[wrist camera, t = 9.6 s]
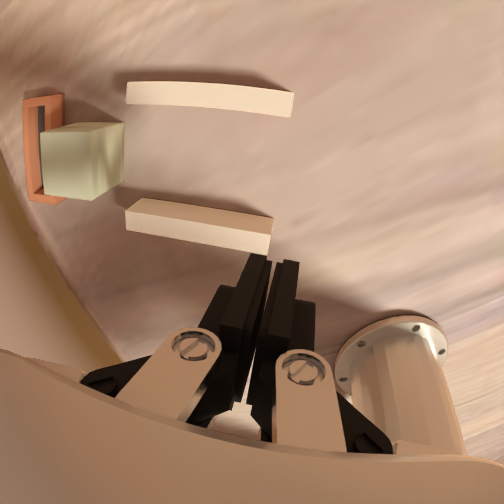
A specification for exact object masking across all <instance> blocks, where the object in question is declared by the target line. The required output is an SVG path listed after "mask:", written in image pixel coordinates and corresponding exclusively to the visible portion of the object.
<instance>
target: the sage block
mask: <svg viewBox="0 0 504 504" xmlns="http://www.w3.org/2000/svg"><path fill="white" fill-rule="evenodd" d="M124 124H125V122H77V123H73V124H69V125H66V126H62V127H58V128H55V129H51V130H48V131H44V132H41V133H40V144H41V162H42V175H43V185H44V194H45V195H52V196H59V197H67V198H74V199H81V200H89V201H92V200H94V199H95V198H97V197H98V196H100V195H102V194H103V193H105V192H106V191H108V190H110V189H111V188H113V187H114V186H116V185H118V184H119V183H121V182H123V181H124Z"/></svg>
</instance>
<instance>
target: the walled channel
mask: <svg viewBox="0 0 504 504" xmlns="http://www.w3.org/2000/svg"><path fill="white" fill-rule="evenodd" d="M293 98H294V93H292V92H286V91H280V90H273V89H265V88H257V87H249V86H239V85H229V84H216V83H200V82H172V81H142V82H127V92H126V104H154V105H179V106H195V107H208V108H220V109H230V110H239V111H247V112H255V113H262V114H269V115H276V116H282V117H288V118H290V116H291V111H292V104H293ZM125 218H126V230H130V231H136V232H141V233H147V234H152V235H158V236H163V237H169V238H174V239H180V240H185V241H191V242H196V243H202V244H207V245H213V246H218V247H224V248H230V249H235V250H241V251H246V252H252V253H257V254H263V255H267V254H268V249H269V244H270V239H271V234H272V228H273V222H274V218H269V217H263V216H257V215H251V214H246V213H240V212H234V211H227V210H221V209H215V208H209V207H203V206H196V205H190V204H183V203H176V202H170V201H163V200H156V199H149V198H141V199H140V200H138V201H137V202H136V203H135V204H133V205H132V206H131V207H129V208H128V209H127V210H126V211H125Z"/></svg>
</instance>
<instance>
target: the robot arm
mask: <svg viewBox="0 0 504 504" xmlns="http://www.w3.org/2000/svg"><path fill="white" fill-rule="evenodd" d="M271 266H272V261H268V260H267V256H264V255H259V254H253V253H251V254H250V256H249V258H248V261H247V263H246V265H245V268H244V270H243V272H242V274H241V277H240V279H239V281H238V283H237V286H236V287H231V286H226V285H220V286H219V288H218V290H217V292H216V294H215V295H214V297H213V299H212V301H211V303H210V305H209V307H208V309H207V311H206V313H205V314H204V316H203V318H202V320H201V322H200V324H199V326H198V328H196V327H188V328H183V329H180V330H177V331H175V332H174V333H172V334H171V335H170V336H169V337H168V338H167V339H166V340H165V341H164V343H163V344H162V345H161V346H160V347H159V348H158V349H157V350H156V352H155V353H154V354H153V355H150V356H146V357H143V358H139V359H135V360H132V361H128V362H124V363H121V364H117V365H113V366H109V367H105V368H101V369H97V370H95V371H92V372H90V373H88V374H85V373H84V370H83V369H78V368H73V367H69V366H64V365H59V364H56V363H51V362H47V361H43V360H40V359H35V358H28V357H27V358H25V357H23V356H20V355H17V354H15V353H13V352H10V351H7V350H4V349H0V504H504V465H503V464H500V463H497V462H494V461H491V460H488V459H484V458H479V457H472V456H467V453H466V449H465V445H464V441H463V437H462V433H461V429H460V425H459V422H458V418H457V415H456V411H455V408H454V404H453V401H452V398H451V395H450V392H449V388H448V385H447V382H446V379H445V376H444V373H443V371H442V368H441V367H442V366H443V364H444V362H445V360H446V357H447V354H448V342H447V339H446V336H445V334H444V332H443V330H442V329H441V328H440V326H439V325H438V324H436V323H435V322H434V321H432V320H430V319H427V318H425V317H420V316H397V317H391V318H387V319H384V320H380V321H378V322H376V323H373V324H371V325H369V326H367V327H365V328H363V329H362V330H360V331H358V332H357V333H356V334H355V335H353V336H352V337H351V338H350V339H349V340H348V341H347V342H346V343H345V344H344V345H343V346H342V348H341V349H340V351H339V353H338V354H337V357H336V361H335V377H336V381H337V383H338V385H339V386H340V387H341V388H342V390H343V391H345V392H346V393H348V394H349V395H352V405H351V404H350V403H349V402H348V401H347V400H346V399H345V398H343V397H342V396H341V395H340V394H339V393H338V392H337V391H336V389H335V384H334V379H333V374H332V370H331V367H330V365H329V363H328V362H327V361H326V360H325V358H323V357H322V356H320V355H319V354H317V353H315V352H314V336H315V303H314V302H308V301H303V300H297V299H295V297H296V288H297V280H298V271H299V262H296V261H291V260H286V259H284V261H283V263H279V262H277V264H276V268H275V272H274V276H273V280H272V284H271V287H270V291H269V295H268V299H267V303H266V307H265V302H266V296H267V290H268V284H269V278H270V272H271ZM264 308H265V311H264ZM255 349H256V351H255ZM254 353H255V356H254ZM253 356H254V362H253V368H252V374H251V379H250V385H249V390H248V396H247V401H246V404H249V405H252V410H251V414H250V415H251V416H252V417H253V419H254V420H255V421H256V422H257V423H258V425H259V426H260V427H259V432H258V440H254V439H249V438H244V437H239V436H235V435H230V434H226V433H222V432H218V431H214V430H211V429H212V427H213V425H214V423H215V421H216V418H217V415H218V414H221V413H223V412H225V411H228V410H231V411H232V407H233V404H234V401H235V402H240V403H241V400H242V396H243V393H244V389H245V386H246V382H247V378H248V375H249V371H250V367H251V364H252V360H253Z"/></svg>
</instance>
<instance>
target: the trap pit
mask: <svg viewBox="0 0 504 504" xmlns="http://www.w3.org/2000/svg"><path fill="white" fill-rule="evenodd" d="M62 126H64V94H57V95H49V96H42V97H35V98H29V99H24V100H23V140H24V157H25V169H26V179H27V188H28V196H29V201H35V202H42V203H48V204H55V205H56V204H58V203H60V202H61V201H63V200H65V199H66V198H67V197H59V196H52V195H45V194H44V185H43V175H42V162H41V144H40V133H41V132H44V131H48V130H51V129H55V128H58V127H62Z"/></svg>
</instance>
